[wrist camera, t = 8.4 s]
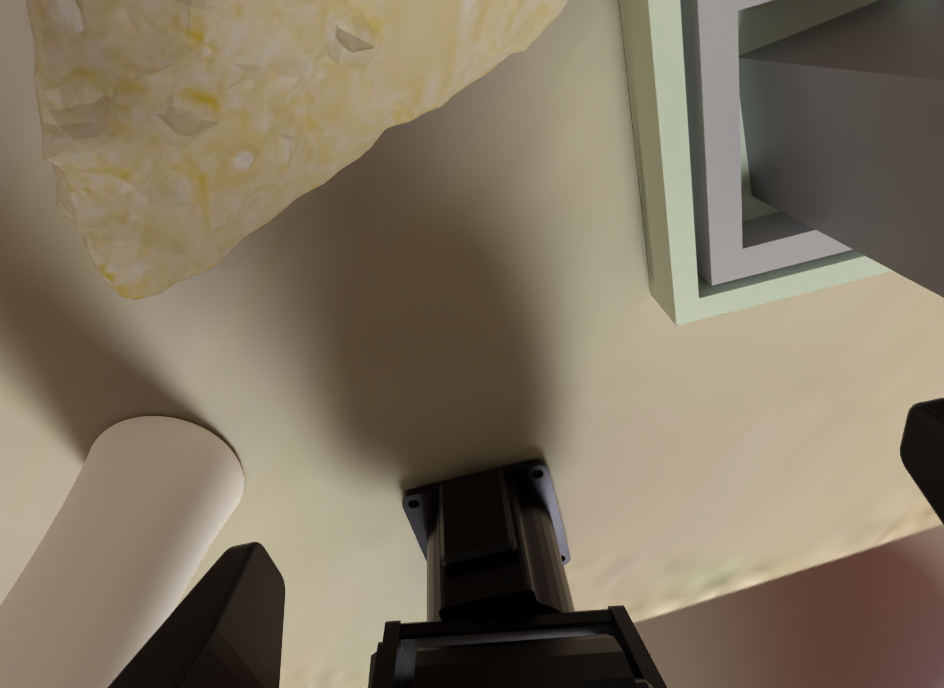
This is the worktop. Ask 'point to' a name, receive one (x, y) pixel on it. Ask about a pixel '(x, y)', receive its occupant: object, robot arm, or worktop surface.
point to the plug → (856, 132)
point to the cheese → (236, 109)
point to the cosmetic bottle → (117, 553)
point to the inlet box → (717, 159)
